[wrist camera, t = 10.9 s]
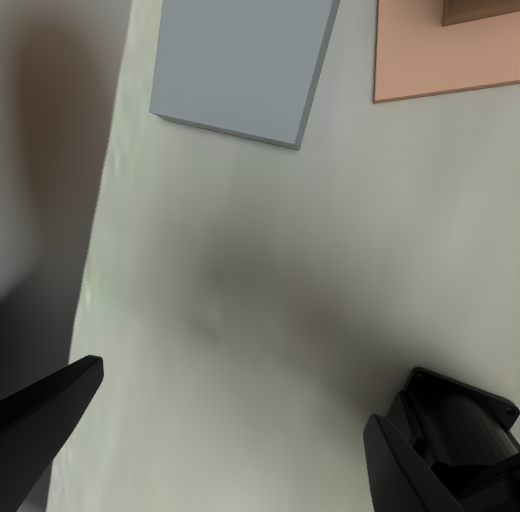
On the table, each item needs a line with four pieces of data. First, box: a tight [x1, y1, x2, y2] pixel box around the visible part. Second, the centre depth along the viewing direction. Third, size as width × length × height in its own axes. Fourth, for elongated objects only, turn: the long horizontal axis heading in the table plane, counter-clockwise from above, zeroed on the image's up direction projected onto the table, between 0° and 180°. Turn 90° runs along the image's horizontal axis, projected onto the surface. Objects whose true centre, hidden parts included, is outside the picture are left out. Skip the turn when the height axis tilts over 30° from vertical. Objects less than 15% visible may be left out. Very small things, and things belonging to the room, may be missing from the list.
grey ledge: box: [149, 0, 340, 150], centre depth 17 cm, size 11×11×2 cm
